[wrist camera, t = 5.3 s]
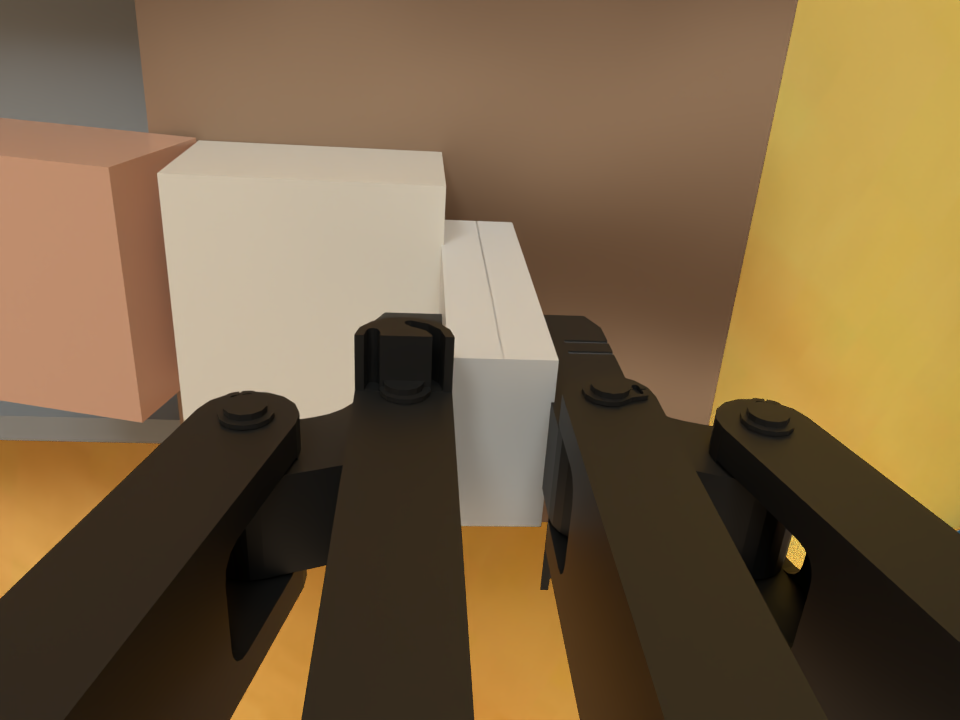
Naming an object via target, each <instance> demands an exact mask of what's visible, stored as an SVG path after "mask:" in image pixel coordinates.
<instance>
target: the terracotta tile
mask: <svg viewBox="0 0 960 720" xmlns="http://www.w3.org/2000/svg"><path fill="white" fill-rule="evenodd" d="M195 143H196V138H194V137H184V136H175V135H165V134H155V133H145V132H135V131H126V130H116V129H106V128H96V127H86V126H77V125H67V124H57V123H47V122H38V121H28V120H18V119H8V118H0V400H1V401H7V402H13V403H20V404H26V405H33V406H39V407H45V408H52V409H58V410H64V411H71V412H77V413H83V414H90V415H96V416H102V417H109V418H115V419H121V420H128V421H134V422H141V423H143V422H144V421H145V420H146V419H147V418H149V417H150V416H151V415H152V414H153V413H154V412H156V411H157V410H158V409H159V408H160V407H161V406H163V405H164V404H165V403H166V402H167V401H168V400H169V399H171V398H172V397H173V396H174V395H175V394H176V393H178V392H179V391H180V382H179V373H178V363H177V354H176V345H175V336H174V326H173V317H172V308H171V299H170V289H169V280H168V271H167V261H166V252H165V243H164V234H163V224H162V215H161V206H160V197H159V187H158V178H157V173H158V172H159V171H160V170H162V169H163V168H164V167H166V166H167V165H168V164H169V163H171V162H172V161H173V160H174V159H176V158H177V157H178V156H180V155H181V154H182V153H183V152H185V151H186V150H187V149H188V148H190V147H191V146H192V145H194V144H195Z"/></svg>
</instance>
